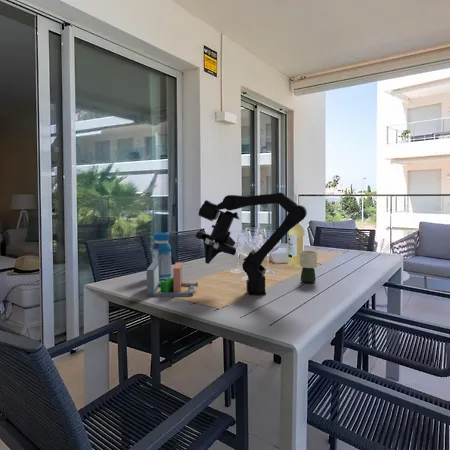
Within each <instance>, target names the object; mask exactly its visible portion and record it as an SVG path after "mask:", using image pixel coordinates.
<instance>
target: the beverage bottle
mask: <svg viewBox="0 0 450 450" xmlns="http://www.w3.org/2000/svg"><path fill="white" fill-rule="evenodd" d="M153 241H154V244H153V245H152V253H151V256H152V262H159V280H164V279H171V277H172V252H171V250H172V245H171V244H170V242H169V241H170V233H169V232H154V233H153Z"/></svg>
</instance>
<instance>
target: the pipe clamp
mask: <svg viewBox="0 0 450 450" xmlns="http://www.w3.org/2000/svg"><path fill="white" fill-rule="evenodd" d="M159 283H160V286H159V288H160V292H174V279H173V277H172V278H171V277H170V278H168V279H163V281H159Z"/></svg>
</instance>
